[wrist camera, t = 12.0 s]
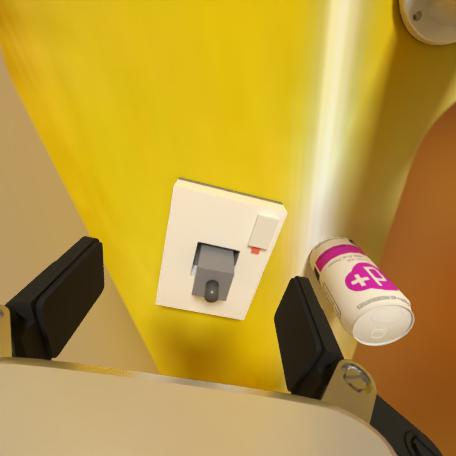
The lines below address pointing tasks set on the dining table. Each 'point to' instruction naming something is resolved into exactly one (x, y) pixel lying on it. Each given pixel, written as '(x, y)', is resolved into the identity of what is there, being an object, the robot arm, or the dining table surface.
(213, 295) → the plug
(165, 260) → the socket
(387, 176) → the dining table surface
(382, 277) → the supplement can
